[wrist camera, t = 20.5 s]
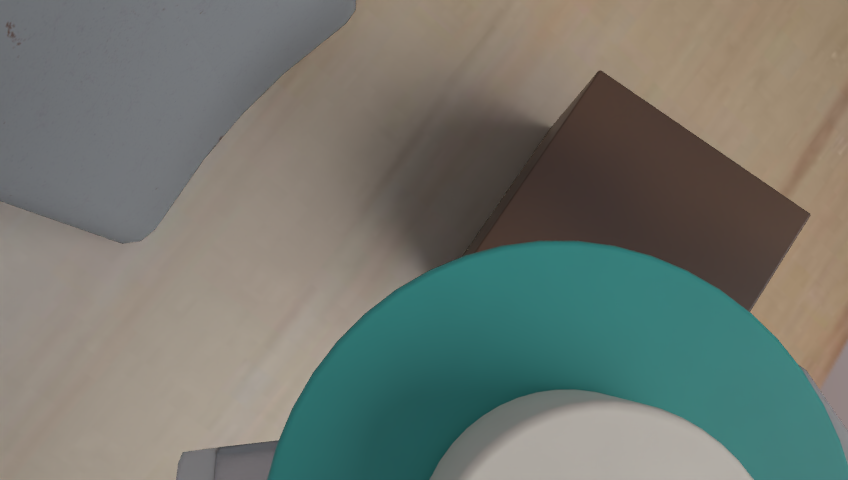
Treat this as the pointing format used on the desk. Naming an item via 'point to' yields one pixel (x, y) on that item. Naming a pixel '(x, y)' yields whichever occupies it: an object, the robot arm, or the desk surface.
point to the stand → (646, 195)
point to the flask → (134, 97)
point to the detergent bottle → (558, 380)
